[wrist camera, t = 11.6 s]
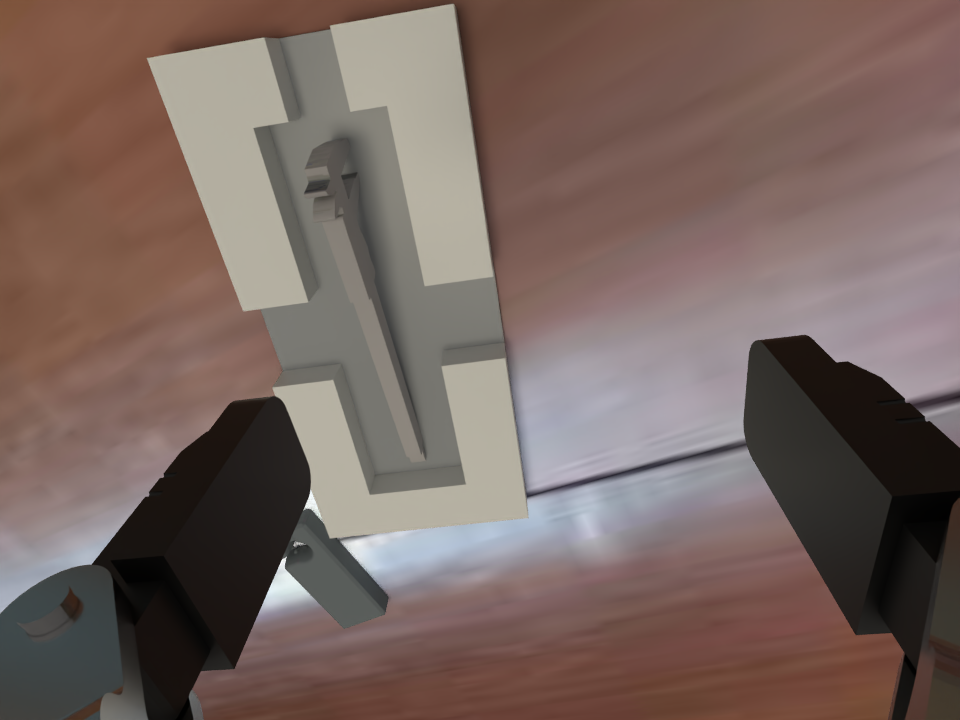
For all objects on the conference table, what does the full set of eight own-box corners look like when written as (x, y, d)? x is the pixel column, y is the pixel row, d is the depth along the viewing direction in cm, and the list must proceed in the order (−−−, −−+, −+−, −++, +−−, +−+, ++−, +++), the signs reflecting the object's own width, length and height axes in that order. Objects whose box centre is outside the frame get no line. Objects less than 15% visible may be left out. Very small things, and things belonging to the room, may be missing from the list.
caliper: (329, 139, 29) (290, 160, 23) (350, 135, 29) (316, 155, 23) (412, 458, 39) (399, 527, 33) (428, 456, 38) (418, 525, 33)
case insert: (456, 8, 26) (453, 3, 24) (526, 492, 40) (528, 517, 38) (173, 57, 27) (146, 58, 25) (338, 512, 42) (329, 538, 39)
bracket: (349, 608, 47) (343, 631, 46) (266, 522, 43) (256, 543, 41) (391, 593, 46) (387, 615, 45) (311, 503, 42) (303, 523, 40)
